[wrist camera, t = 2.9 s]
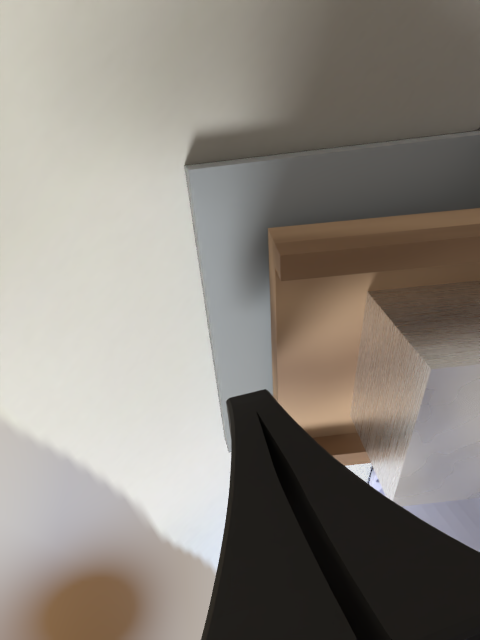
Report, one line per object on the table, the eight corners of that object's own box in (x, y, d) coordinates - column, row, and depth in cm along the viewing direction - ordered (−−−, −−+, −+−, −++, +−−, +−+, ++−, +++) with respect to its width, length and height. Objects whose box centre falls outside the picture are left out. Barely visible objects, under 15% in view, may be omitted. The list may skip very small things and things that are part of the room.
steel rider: (487, 400, 15) (567, 488, 12) (349, 415, 15) (390, 507, 11) (541, 274, 12) (675, 343, 8) (367, 291, 12) (431, 369, 8)
